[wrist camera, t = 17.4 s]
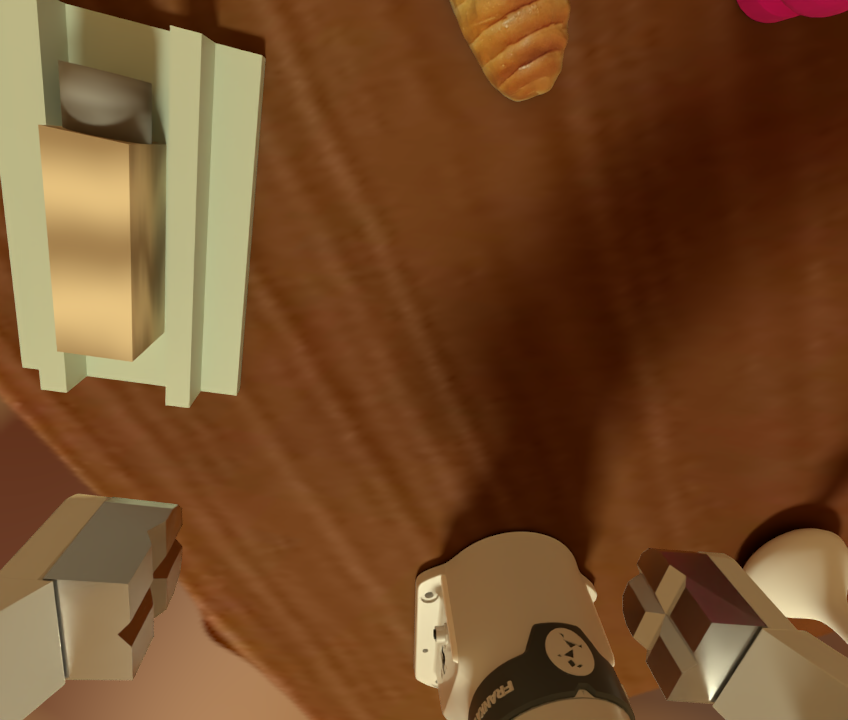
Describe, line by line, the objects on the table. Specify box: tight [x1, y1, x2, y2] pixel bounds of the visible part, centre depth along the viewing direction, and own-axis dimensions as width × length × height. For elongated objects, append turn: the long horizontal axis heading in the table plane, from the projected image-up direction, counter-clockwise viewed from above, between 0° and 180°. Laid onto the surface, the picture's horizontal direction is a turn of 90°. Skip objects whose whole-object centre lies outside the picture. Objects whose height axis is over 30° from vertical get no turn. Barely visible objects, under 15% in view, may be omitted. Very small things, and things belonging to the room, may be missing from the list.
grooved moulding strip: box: [0, 0, 266, 408], centre depth 29 cm, size 22×14×4 cm, turn 168°
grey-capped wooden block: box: [38, 60, 167, 362], centre depth 27 cm, size 15×4×5 cm, turn 168°
